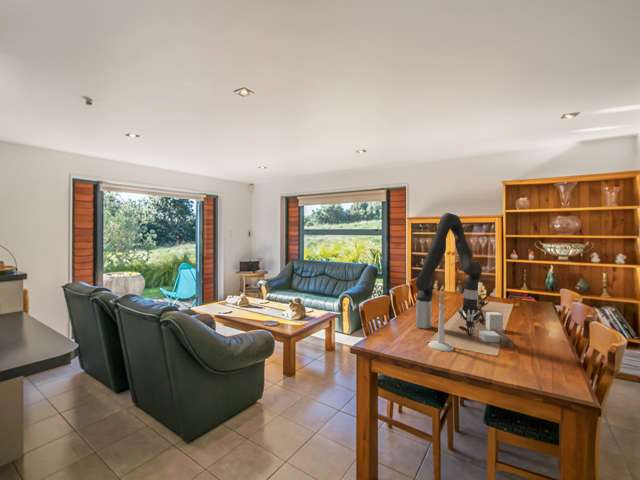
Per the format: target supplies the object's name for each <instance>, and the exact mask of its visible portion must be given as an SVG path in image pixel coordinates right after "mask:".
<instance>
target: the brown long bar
mask: <svg viewBox="0 0 640 480" xmlns="http://www.w3.org/2000/svg"><path fill="white" fill-rule="evenodd" d="M490 331H494V332H495V333H497V334H498V335H499V336H500V344H501V345H502V346H504V347H505V348H514V340H513V339H512V338H510V337H509V336H507V335H506V334H504V333H503V331H499V330H498V329H490Z"/></svg>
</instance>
